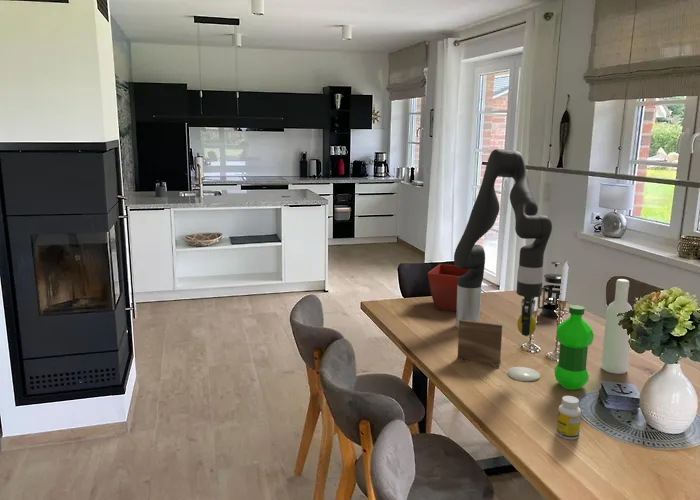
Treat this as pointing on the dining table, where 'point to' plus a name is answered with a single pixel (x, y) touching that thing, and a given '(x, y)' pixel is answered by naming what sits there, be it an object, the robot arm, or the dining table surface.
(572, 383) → the plastic bottle
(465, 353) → the walnut screen
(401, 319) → the dining table surface
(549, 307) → the french press
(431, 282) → the plant pot
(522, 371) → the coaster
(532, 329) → the lemon
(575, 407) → the supplement bottle
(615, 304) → the bottle
